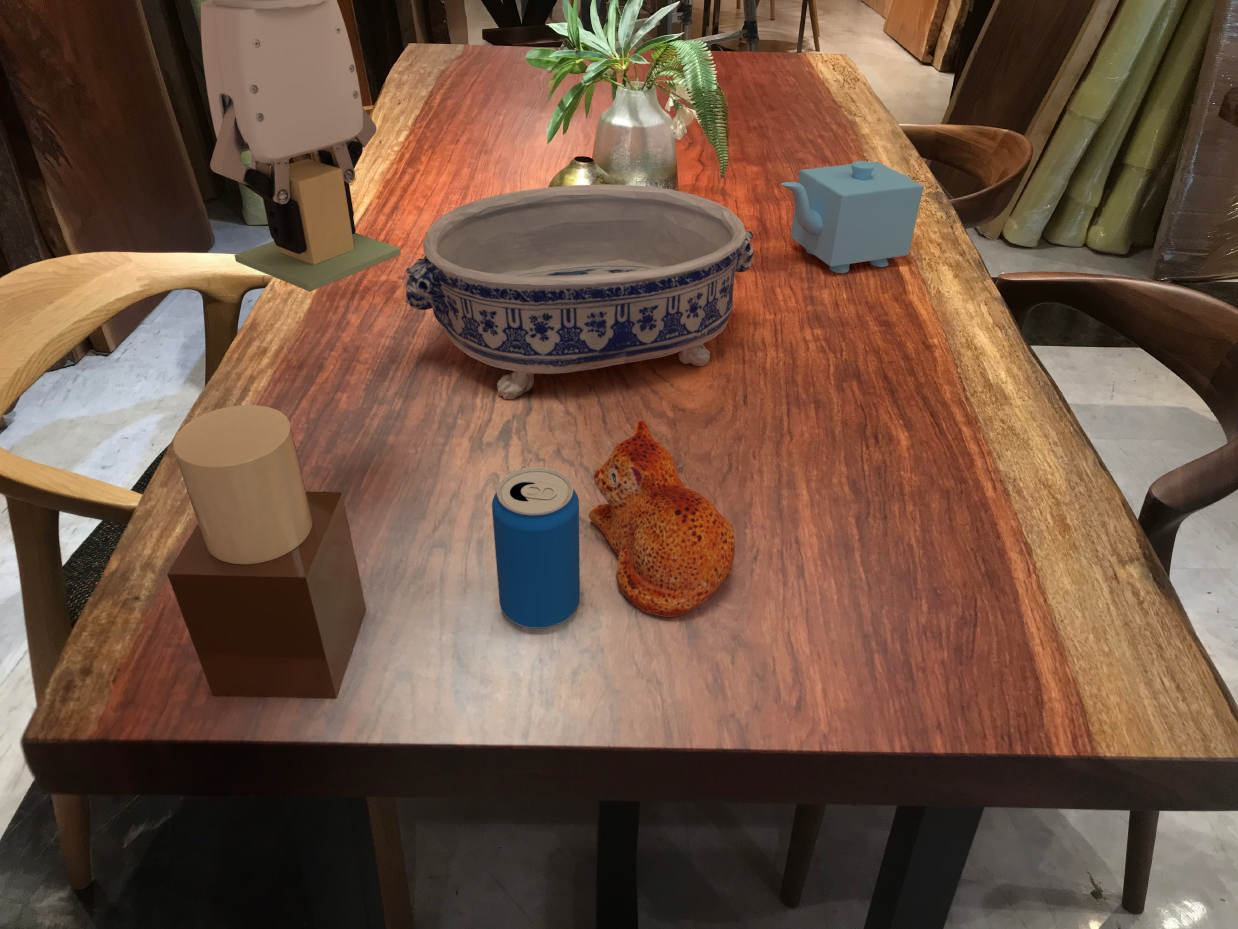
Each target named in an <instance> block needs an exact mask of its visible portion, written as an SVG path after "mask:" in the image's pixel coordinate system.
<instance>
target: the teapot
mask: <svg viewBox="0 0 1238 929" xmlns="http://www.w3.org/2000/svg"><path fill="white" fill-rule="evenodd" d="M780 185H781V186H782V187H785V188H786V189H788V190H789V191H790V192H791V193H792V195H793V199H794V209H793V210H794V211H793V216H792V217H793V218H792V225H791V233H790V239H792V240H793V241H794V242H796V243H798V244H799V245H800V246H802V247H803V248H804V249H805V252H806V253H807V254H809V255H813V256H815V257H816V258H818V259H819V260H821V261H822V262H823V263H825V264H826V265H827V266H829V270H830V271H831V272H834V273H837V274H846V273H848V272H849V271H850V266H851V265H850V264H856V263H857V264H858V263H864V262H868V263H869V264H870V265H871V266H874V267H878V268H885V267H888V266H889V264H890V263H889V261H888V259H891V258H897V257H905V256H909V255H910V250H911V245H912V242H913V237H914V232H915V229H916V223H917V219H918V214H919V210H920V207H921V206H920V205H921V201H922V198H923V193H924V188H925V187H924V185H923V184H921V183H919V182H917V181H915V180H913V179H912V178H911V177H909V176H908V175H906V174H904V173H901V172H898V171H896V170H895V169H893V168H891V167H889V166H887V165H886V164H883V163H881V162H879V161H868V160H867V161H866V160H856V161H853V162H852V163H848V164H840V165H832V166H824V167H822V166H821V167H814V168H804V169H800V171H799V174H798V182H796V181H786V182H781V183H780Z"/></svg>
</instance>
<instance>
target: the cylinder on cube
mask: <svg viewBox="0 0 1238 929" xmlns="http://www.w3.org/2000/svg"><path fill="white" fill-rule="evenodd" d="M295 442H296V441H295V438H294V434H293V429H292V424H291V422H290V420H289V418H288V417H287V416H286V415H285V414H284V413H283V412H281V411H280V410H278V409H276V408H273V407H269V406H265V405H259V404H239V405H231V406H230V405H229V406H225V407H221V408H218V409H214V410H211V411H208V412H206V413H203V414H201V415H199V416H197V417H194V418H193V419H192V420H190V421H189V422H187V423H186V424H185V425H183V427H181V428H180V429H179V431H178V432H177V433H176V435H175V437H174V439H173V442H172V443H173V444H172V448H173V452H174V454H175V458H176V461H177V464H178V467H179V470H180V474H181V476H182V480H183V483H184V485H185V488H186V491H187V494H188V497H189V500H190V503H191V506H192V509H193V512H194V516H195V519H196V521H197V524H196V526H195V527H194V529H193V530H192V532H191V534H190V536H189V537H188V539H187V541H186V542H185V543H184V545H183V546H182V548H181V550H180V551H179V553H178V555H177V556H176V558H175V560H174V561H173V563H172V565H171V566H170V568H169V569H168V571H167V573H166V575H167V578H168V581H169V584H170V586H171V589H172V592H173V594H174V597H175V599H176V601H177V605H178V608H179V610H180V612H181V615H182V618H183V621H184V623H185V626H186V628H187V631H188V634H189V637H190V640H191V642H192V644H193V646H194V650H195V652H196V655H197V658H198V660H199V663H200V667H201V669H202V671H203V674H204V676H205V679H206V681H207V684H208V687H209V690H210V693H211V694H212V696H235V697H236V696H237V697H271V698H273V697H274V698H275V697H277V698H310V699H312V698H313V699H337V697H338V694H339V691H340V688H341V686H342V682H343V679H344V678H345V674H346V671H347V669H348V668H347V667H348V666H349V662H350V659H351V656H352V653H353V649H354V646H355V644H356V641H357V638H358V635H359V632H360V629H361V626H362V624H363V620H364V617H365V614H366V611H367V606H366V600H365V597H364V596H365V595H364V590H363V585H362V581H361V577H360V572H359V567H358V562H357V557H356V552H355V547H354V542H353V538H352V532H351V526H350V522H349V517H348V513H347V509H346V504H345V498H344V494H343V491H321V490H320V491H317V490H316V491H315V490H306V486H305V480H304V476H303V473H302V468H301V464H300V460H299V456H298V452H297V447H296V443H295Z"/></svg>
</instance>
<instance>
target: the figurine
mask: <svg viewBox="0 0 1238 929" xmlns="http://www.w3.org/2000/svg"><path fill="white" fill-rule="evenodd" d="M650 430H651V429H650V428H649V426H648V424H647V423H646V421H644V420H638V421H636V425H635V428H634V432H633V435H632V436H631V437H629V438H627V439H625V440H623V441H620V442H618V443H617V444H616V446H615V448H614V449H613V451H612V453H611V454H610V455H609V457H608V459H607V460H606V461H605V462H604V463H603V465H602V466H601V467H600V468H598V469H597V470H596V471H594V473H593V477H592V478H593V482H594V484H595V486H596V488H597V489H598V491H599V492H600V494H601V495H602V497H603V498H604V499H605V501H606V502H607V503H602V504H598V505H597V506H595V508H593V509H592V510H590V512H589V513H588V518H589V520H590V521H591V522H593V523H594V524H595V526H597V527H598V529H600V530H601V532H602V534H603V535H604V537H605V538H606V540H607V541H608V543H609V545H610V546H611V548H612V549H613V551H614V553H615V554H617V555H618V558H617V559H618V560H617V567H616V568H617V570H616V575H615V576H616V581H617V585H618V587H619V589H620V591H621V592H622V593H623V595H624V596H625V598H626V599H627V600H628V601H629V603H630V604H631V605H633V606H635V607H636V608H638V609H639V610H641V612H643V613H646V614H649V615H655V616H659V617H664V618H673V617H674V618H675V617H680V616H683V615H685V614H688V613H689V612H690V611H693V610H695V609H696V608H697V607H699V606H700V605H701V604H703V603H704V602H706V600H708V599H709V598H710V597H711V596H712V595H713V594H715V592H716V591H717V590H718V589H719V587H720V586H721V585H722V583H724V581H726V580H727V579H728V578H729V577H730V574H731V572H732V568H733V563H734V559H735V554H736V539H735V531H734V528H733V525H732V524H731V522H729V521H728V519H727V518H725V517H724V515H722V514H721V513H720V512H718V510H717V509H716V507H715V505H714V504H713V503H712V502H710V501H709V500H708V499H707V498H706V497H704V496H703V495H702V494H701V493H699V492H697V491H696V490H694V489H691V488H688V487H686V486H685V485H684V483H683V481H682V480H681V478H680V477H679V474H678V471H677V470H678V469H677V467H676V464H675V460H674V458H673V456H672V454H671V453H670V452H669V451H668V450H667V449H666V447H664V446H663V445H662V444H660V443H659V442H658V441H656V440H655V439H654V437H653V435H652V433H651V431H650Z"/></svg>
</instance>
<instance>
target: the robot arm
mask: <svg viewBox="0 0 1238 929" xmlns="http://www.w3.org/2000/svg"><path fill="white" fill-rule="evenodd" d="M200 37H201V40H200V41H201V49H202V50H201V53H202V62H203V69H204V71H203V72H204V77H205V83H206V92H207V97H208V98H207V99H208V104H209V110H210V114H211V119H212V125H213V129H214V134H215V138H216V143H215V146H214V149H213V152H212V156H211V160H210V165H209V166H210V169H211V171H212V172H213V173H216V174H218V175H221V176H223V177H225V178H228V179H230V180H233V181H236V182H238V183H240V184H241V185H242V186H244V187H245V188H247V189H248V190H250V191H251V192H253V193H254V194H255V196H257V197H260V198H261V199H262V202H263V206H264V211H265V216H266V221H267V225H268V230H269V231H268V232H269V234H270V237H271V239H272V240H273V241H274V242H275V244H276V245H277V246H278V247H281V248H284V249H286V250H289V251H291V252H294V253H297V254H301V253H304V252H306V249H307V247H306V242H305V237H304V231H303V226H302V221H301V216H300V210H299V205H298V203H297V201H294V200H291V199H290V176H289V164H290V159H291V158H295V157H299V156H300V157H301V156H303V155H306V154H310V153H313V154H314V158H315V161H317V162H320V163H323V164H326V165H330V166H333V167H336V168H340V169H342V173H343V180H344V186H345V192H346V199H347V205H348V211H349V218H350V224H351V230H352V235H353V234H355V233H357V232H356V224H355V218H354V217H355V212H354V206H353V200H352V193H351V186H350V184H351V183H353V182H354V181H355V178H356V171H355V168H356V166H357V164H358V162H359V160H360V159H361V156H362V155H363V151H364V148H366V147H367V145H368V144H369V143H370V141H371V140H372V138H373V137H374V136H375V135H376V133H377V125H376V123H375V122H374V120H373V119H372V118H371V116H370V114H368V112H367V111H366V109H365V108H364V106H363V102H362V94H361V90H360V89H361V88H360V82H359V78H358V72H357V68H356V63H355V58H354V53H353V49H352V46H351V41H350V38H349V34H348V30H347V26H346V23H345V20H344V17H343V14H342V11H341V8H340V5H339V3H338V0H208V1H202V2H201V3H200ZM249 151H250V159H251V160H250V161H251V162H250V163H251V167H250V166H248V165H246V164H244V163H243V161H242V159H241V157H242V153H245V152H249ZM270 169H271V172H270Z"/></svg>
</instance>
